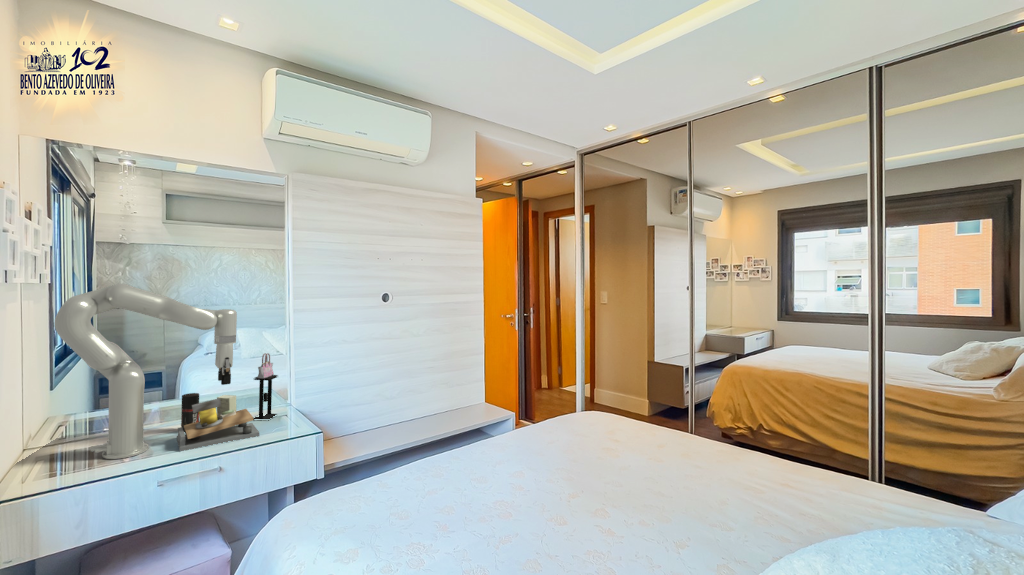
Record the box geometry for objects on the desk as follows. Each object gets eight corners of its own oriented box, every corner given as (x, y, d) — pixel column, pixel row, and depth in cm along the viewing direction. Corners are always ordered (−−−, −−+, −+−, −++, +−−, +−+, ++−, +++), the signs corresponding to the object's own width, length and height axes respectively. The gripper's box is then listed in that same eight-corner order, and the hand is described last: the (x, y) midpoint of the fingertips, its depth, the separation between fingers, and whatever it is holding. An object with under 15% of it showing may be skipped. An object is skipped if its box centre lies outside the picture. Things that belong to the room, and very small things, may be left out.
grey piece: (180, 451, 160) (180, 438, 160) (176, 439, 170) (177, 427, 170) (259, 436, 177) (259, 424, 177) (252, 426, 188) (252, 414, 188)
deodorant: (191, 433, 177) (192, 397, 177) (177, 432, 177) (178, 396, 177) (202, 428, 183) (202, 393, 183) (188, 427, 183) (189, 392, 183)
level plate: (187, 439, 161) (183, 413, 160) (184, 428, 172) (180, 404, 170) (253, 420, 176) (250, 396, 174) (246, 411, 186) (243, 388, 185)
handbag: (266, 421, 194) (268, 355, 193) (250, 421, 194) (251, 355, 193) (279, 414, 204) (281, 351, 203) (263, 413, 204) (265, 350, 203)
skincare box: (236, 422, 192) (237, 395, 191) (229, 425, 187) (229, 398, 187) (223, 421, 192) (224, 394, 192) (215, 424, 188) (216, 397, 188)
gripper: (211, 337, 181) (210, 379, 181) (217, 343, 168) (216, 388, 169) (232, 336, 186) (231, 376, 186) (240, 341, 173) (238, 385, 174)
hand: (224, 381), depth 177 cm, fingers open, 7 cm apart
